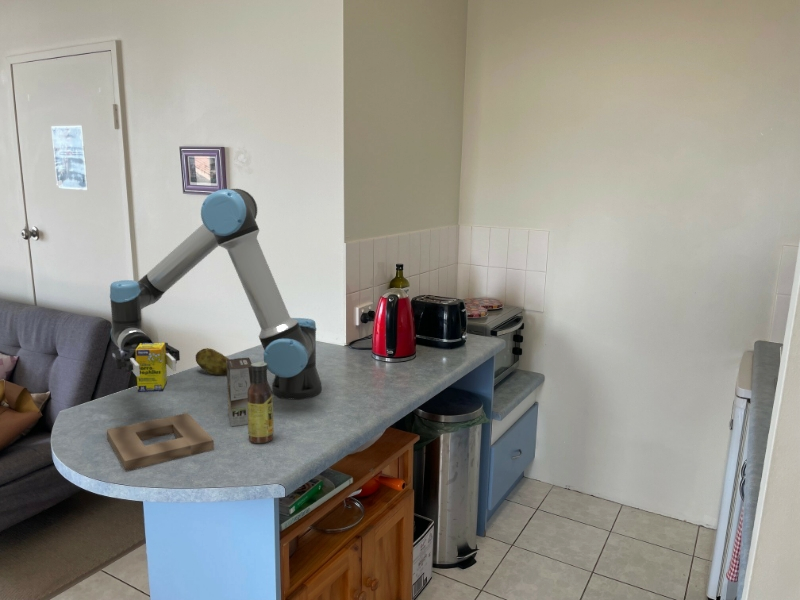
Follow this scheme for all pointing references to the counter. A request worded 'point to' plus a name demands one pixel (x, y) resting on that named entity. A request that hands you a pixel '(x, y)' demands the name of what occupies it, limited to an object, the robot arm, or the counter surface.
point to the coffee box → (238, 389)
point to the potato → (212, 361)
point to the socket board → (137, 455)
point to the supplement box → (151, 367)
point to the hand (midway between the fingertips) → (156, 368)
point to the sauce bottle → (260, 405)
